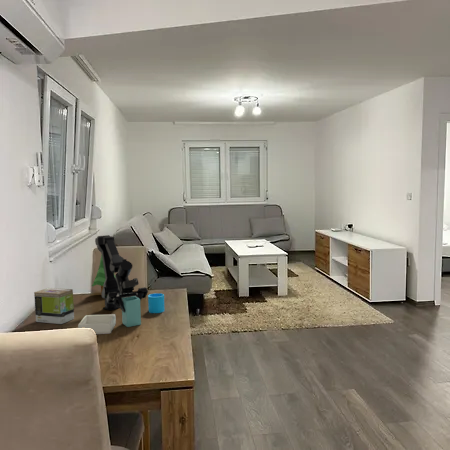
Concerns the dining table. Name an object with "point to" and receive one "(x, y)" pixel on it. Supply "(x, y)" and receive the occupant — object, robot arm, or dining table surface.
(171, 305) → the dining table surface
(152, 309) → the mug
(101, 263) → the decorative tree
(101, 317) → the white crate
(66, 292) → the tea box
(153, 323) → the dining table surface
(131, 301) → the teal crate
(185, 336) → the dining table surface
